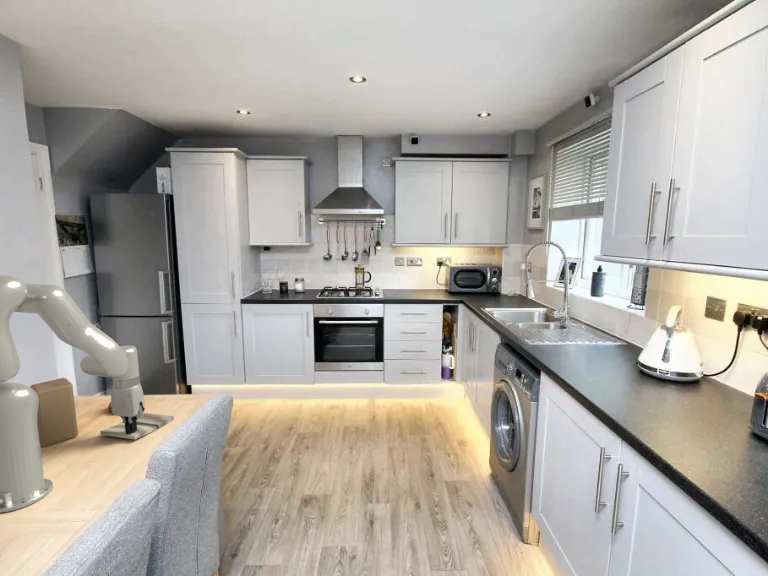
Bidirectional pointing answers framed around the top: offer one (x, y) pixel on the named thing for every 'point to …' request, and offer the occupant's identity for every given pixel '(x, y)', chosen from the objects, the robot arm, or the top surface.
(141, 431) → the loose plank
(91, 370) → the robot arm
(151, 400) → the top surface
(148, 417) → the laid board
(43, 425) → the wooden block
